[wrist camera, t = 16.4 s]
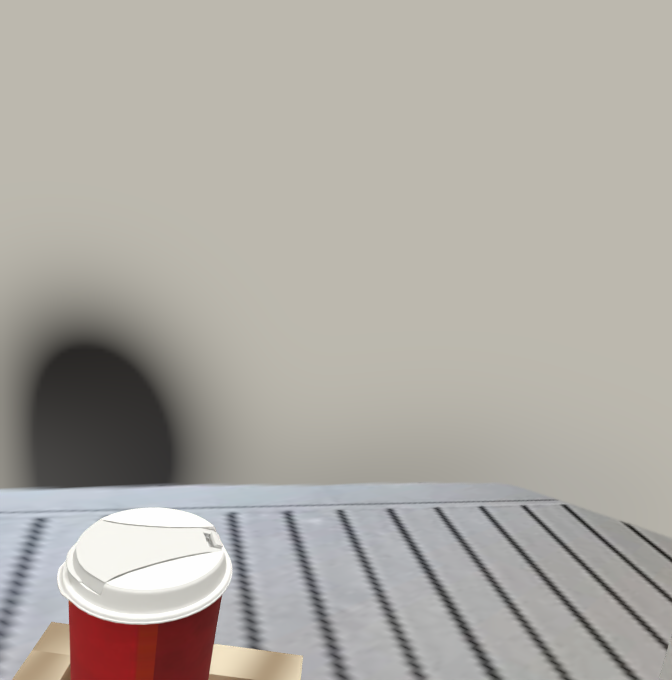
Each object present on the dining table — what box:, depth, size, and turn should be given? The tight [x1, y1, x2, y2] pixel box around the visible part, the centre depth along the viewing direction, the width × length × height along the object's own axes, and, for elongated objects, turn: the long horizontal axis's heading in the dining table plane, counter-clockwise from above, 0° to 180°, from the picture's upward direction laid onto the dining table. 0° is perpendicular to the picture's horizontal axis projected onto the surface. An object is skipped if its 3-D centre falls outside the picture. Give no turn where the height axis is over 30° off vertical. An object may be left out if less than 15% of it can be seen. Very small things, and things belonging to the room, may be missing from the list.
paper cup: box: [57, 508, 232, 680], centre depth 31 cm, size 8×8×14 cm
